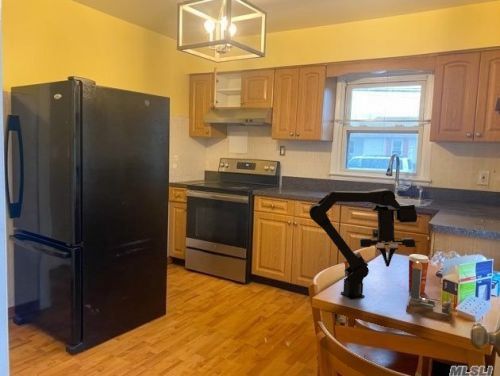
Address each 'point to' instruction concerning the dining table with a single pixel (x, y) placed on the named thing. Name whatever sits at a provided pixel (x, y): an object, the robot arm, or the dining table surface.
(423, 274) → the paper cup
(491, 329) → the dining table surface
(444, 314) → the press bench
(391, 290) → the dining table surface
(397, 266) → the dining table surface
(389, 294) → the dining table surface
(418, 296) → the press handle
